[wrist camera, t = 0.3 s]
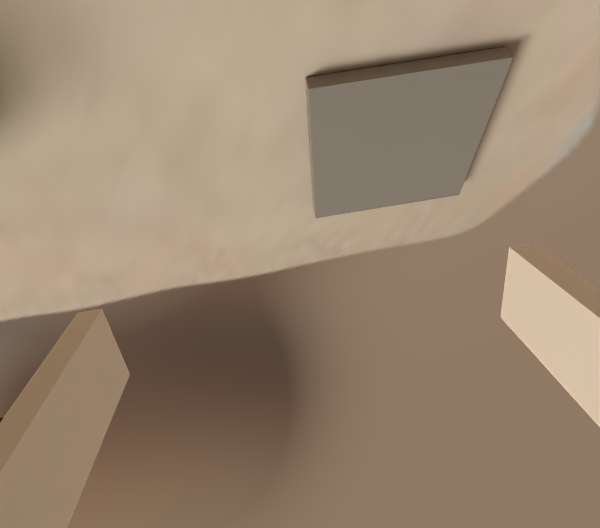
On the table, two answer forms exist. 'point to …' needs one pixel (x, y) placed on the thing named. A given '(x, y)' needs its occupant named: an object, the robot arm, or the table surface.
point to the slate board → (399, 129)
